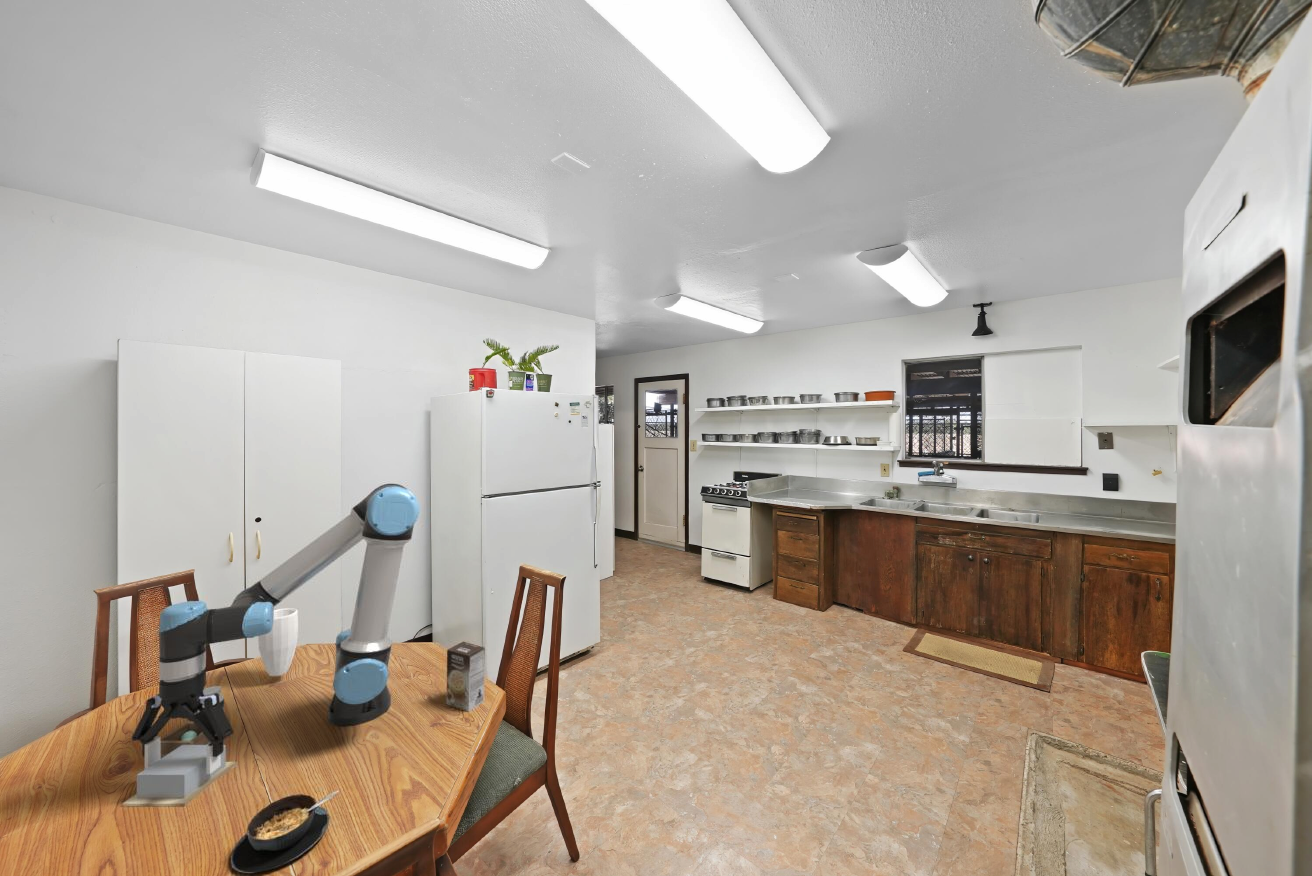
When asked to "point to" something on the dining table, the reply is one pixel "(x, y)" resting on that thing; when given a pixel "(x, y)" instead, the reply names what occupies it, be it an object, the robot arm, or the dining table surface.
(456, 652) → the coffee box
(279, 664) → the cup
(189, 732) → the marble
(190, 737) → the marble
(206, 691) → the pill bottle
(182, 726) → the walnut dish
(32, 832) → the dining table surface
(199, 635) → the robot arm
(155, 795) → the grey cover
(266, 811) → the soup bowl
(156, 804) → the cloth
